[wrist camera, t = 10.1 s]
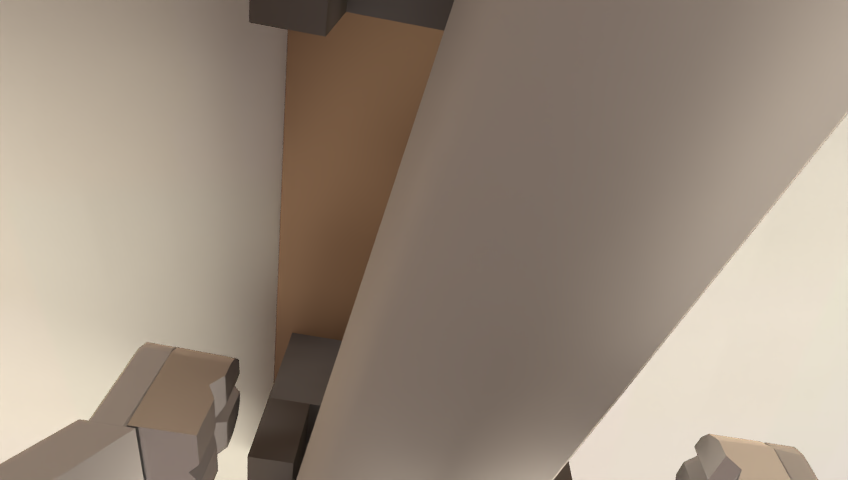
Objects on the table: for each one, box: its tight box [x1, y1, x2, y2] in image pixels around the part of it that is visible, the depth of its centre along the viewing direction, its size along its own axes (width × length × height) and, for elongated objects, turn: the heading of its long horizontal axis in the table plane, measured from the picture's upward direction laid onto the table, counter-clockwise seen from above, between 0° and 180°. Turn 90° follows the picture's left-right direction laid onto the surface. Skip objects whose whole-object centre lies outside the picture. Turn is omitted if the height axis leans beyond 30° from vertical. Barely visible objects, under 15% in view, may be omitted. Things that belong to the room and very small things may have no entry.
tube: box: [296, 0, 848, 480], centre depth 11 cm, size 5×5×25 cm
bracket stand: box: [248, 0, 572, 480], centre depth 15 cm, size 10×28×6 cm, turn 170°
